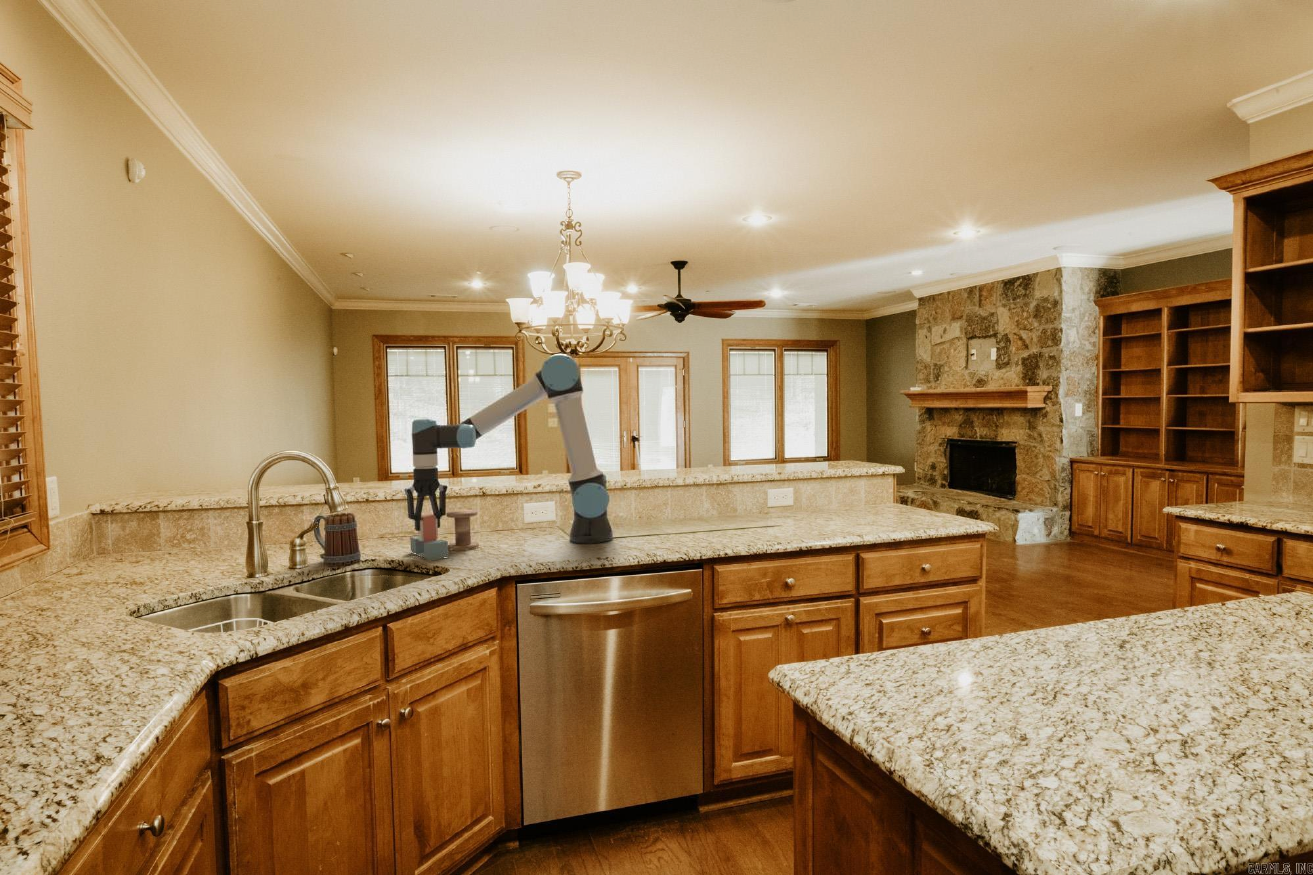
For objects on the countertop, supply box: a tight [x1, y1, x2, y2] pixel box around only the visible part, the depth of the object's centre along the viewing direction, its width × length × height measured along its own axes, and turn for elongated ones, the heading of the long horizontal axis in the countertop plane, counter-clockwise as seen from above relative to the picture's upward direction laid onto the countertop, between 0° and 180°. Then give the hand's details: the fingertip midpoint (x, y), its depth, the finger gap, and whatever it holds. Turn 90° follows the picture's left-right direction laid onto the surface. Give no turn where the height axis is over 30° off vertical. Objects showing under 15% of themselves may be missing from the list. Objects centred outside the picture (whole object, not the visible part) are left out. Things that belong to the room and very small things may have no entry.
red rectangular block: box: [420, 513, 437, 542], centre depth 219 cm, size 4×4×8 cm
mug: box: [312, 512, 362, 567], centre depth 212 cm, size 16×11×15 cm
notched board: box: [409, 535, 449, 561], centre depth 219 cm, size 16×6×5 cm, turn 40°
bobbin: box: [446, 509, 479, 551], centre depth 229 cm, size 10×10×12 cm
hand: (428, 539), depth 219 cm, fingers closed on red rectangular block, 4 cm apart
